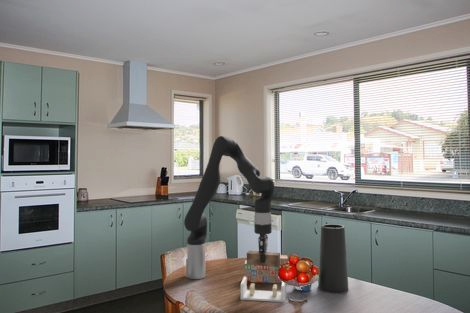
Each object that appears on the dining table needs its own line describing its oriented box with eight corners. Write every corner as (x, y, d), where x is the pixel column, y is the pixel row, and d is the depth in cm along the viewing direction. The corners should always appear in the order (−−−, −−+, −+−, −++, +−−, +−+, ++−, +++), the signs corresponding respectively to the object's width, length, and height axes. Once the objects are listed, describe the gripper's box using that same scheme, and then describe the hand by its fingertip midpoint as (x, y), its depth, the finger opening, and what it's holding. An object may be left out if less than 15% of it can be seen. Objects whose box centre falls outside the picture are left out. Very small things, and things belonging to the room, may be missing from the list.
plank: (246, 264, 167) (246, 253, 167) (249, 261, 171) (249, 250, 171) (278, 267, 162) (277, 255, 162) (280, 264, 166) (279, 252, 166)
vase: (353, 287, 177) (353, 225, 177) (339, 295, 167) (339, 230, 167) (327, 281, 186) (326, 222, 186) (312, 288, 176) (312, 226, 176)
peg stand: (240, 299, 163) (240, 283, 163) (244, 291, 173) (243, 276, 173) (284, 302, 160) (284, 286, 160) (285, 293, 170) (285, 278, 170)
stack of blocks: (244, 282, 186) (244, 257, 186) (245, 278, 192) (245, 254, 192) (288, 283, 184) (288, 258, 184) (287, 279, 190) (287, 254, 190)
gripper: (256, 219, 174) (256, 256, 174) (252, 225, 160) (252, 265, 160) (272, 219, 173) (273, 256, 173) (270, 225, 159) (270, 265, 159)
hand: (263, 260), depth 166 cm, fingers closed on plank, 4 cm apart
